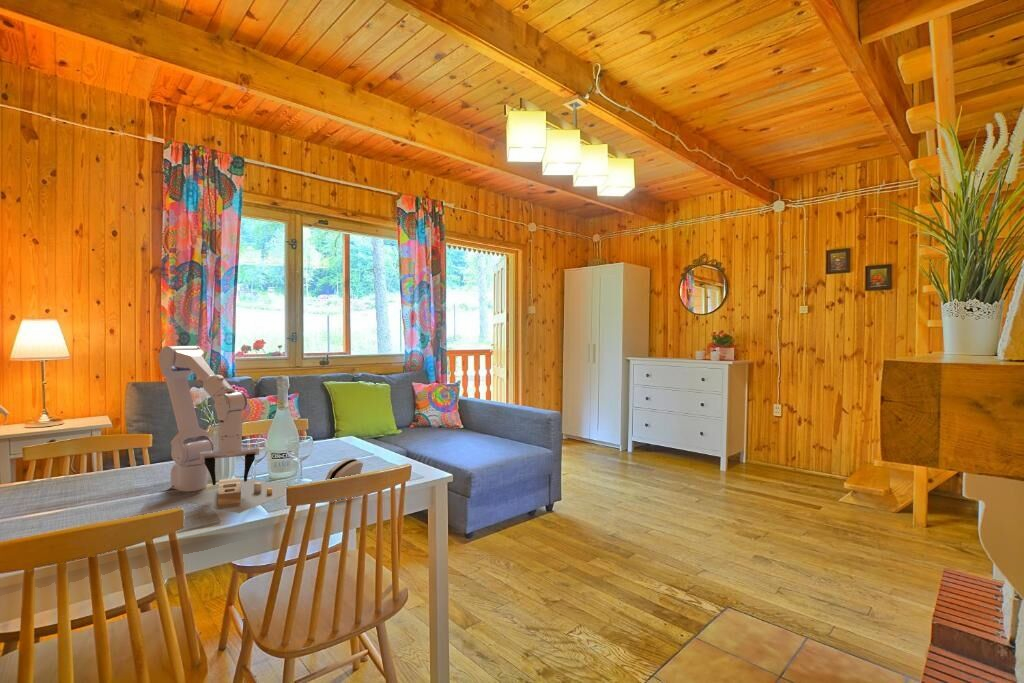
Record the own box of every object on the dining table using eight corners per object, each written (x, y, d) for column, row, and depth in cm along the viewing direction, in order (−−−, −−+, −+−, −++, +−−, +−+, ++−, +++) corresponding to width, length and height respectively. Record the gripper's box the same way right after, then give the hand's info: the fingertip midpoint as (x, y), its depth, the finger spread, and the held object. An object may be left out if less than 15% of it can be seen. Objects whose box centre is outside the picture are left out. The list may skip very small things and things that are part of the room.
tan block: (219, 490, 146) (219, 480, 146) (240, 487, 148) (240, 477, 148) (217, 505, 134) (218, 494, 134) (240, 502, 136) (240, 491, 136)
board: (179, 505, 137) (180, 491, 137) (247, 483, 157) (247, 470, 157) (239, 518, 129) (239, 503, 129) (302, 493, 150) (302, 480, 150)
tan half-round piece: (344, 479, 165) (354, 451, 164) (356, 485, 164) (366, 457, 163) (314, 495, 148) (325, 465, 147) (328, 502, 147) (339, 471, 147)
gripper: (199, 439, 134) (199, 489, 134) (259, 435, 141) (259, 482, 141) (200, 434, 140) (200, 482, 140) (258, 430, 147) (258, 476, 147)
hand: (229, 482), depth 141 cm, fingers open, 7 cm apart
